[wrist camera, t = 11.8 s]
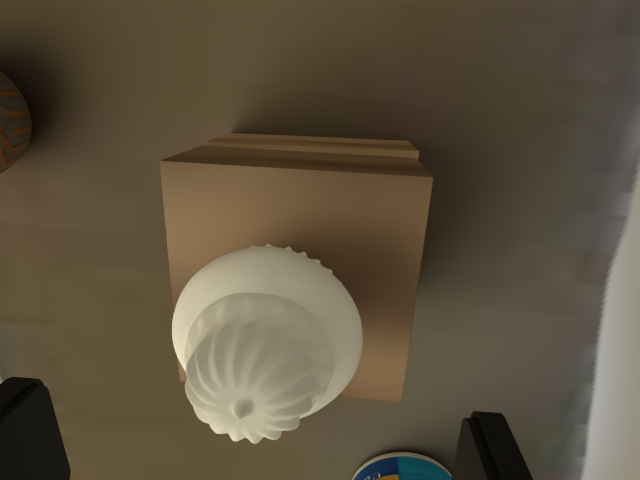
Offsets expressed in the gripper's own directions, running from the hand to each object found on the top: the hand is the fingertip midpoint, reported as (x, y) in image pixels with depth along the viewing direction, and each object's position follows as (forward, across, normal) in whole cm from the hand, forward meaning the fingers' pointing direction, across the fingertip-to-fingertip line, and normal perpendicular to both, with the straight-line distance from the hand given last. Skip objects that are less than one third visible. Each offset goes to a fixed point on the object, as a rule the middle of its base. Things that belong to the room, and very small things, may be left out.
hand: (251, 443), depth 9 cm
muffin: (+8, 0, 0) cm, 8 cm away
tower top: (+12, 0, 0) cm, 12 cm away
